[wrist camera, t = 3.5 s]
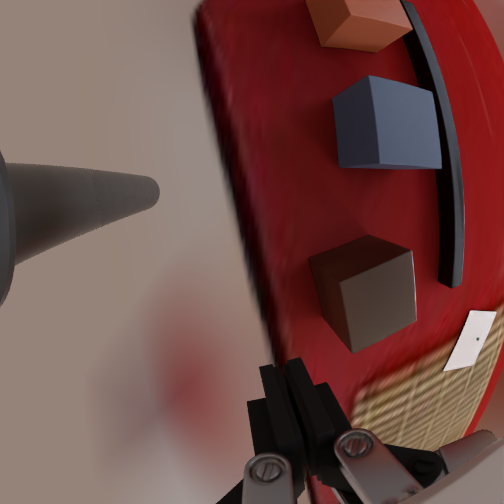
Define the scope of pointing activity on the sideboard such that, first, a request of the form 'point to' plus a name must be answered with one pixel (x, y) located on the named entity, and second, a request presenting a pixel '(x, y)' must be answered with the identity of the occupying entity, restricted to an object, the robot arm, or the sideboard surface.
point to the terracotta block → (358, 23)
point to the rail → (450, 157)
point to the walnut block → (365, 290)
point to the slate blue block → (386, 126)
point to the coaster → (471, 339)
